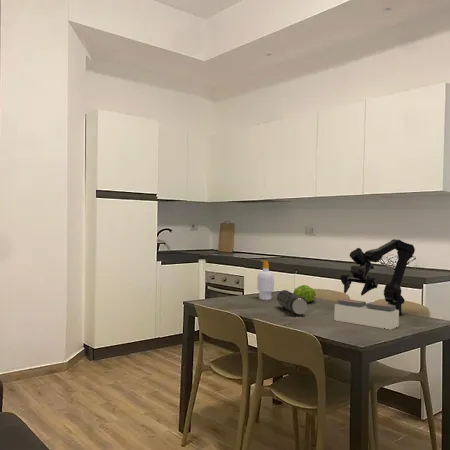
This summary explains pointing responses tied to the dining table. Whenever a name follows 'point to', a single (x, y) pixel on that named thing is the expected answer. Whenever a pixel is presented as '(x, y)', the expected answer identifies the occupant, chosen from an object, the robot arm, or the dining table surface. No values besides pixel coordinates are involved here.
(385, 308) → the key
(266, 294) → the soap bottle
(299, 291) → the lettuce
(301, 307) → the grey foam roller
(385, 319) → the switch block
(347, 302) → the key
